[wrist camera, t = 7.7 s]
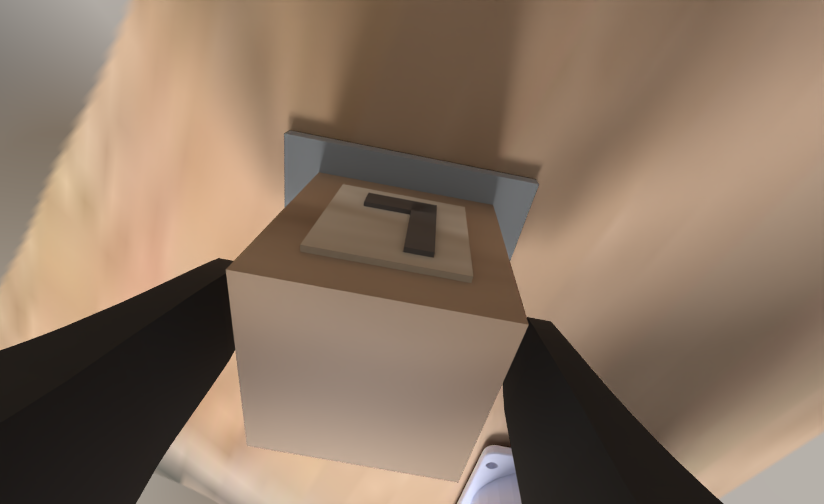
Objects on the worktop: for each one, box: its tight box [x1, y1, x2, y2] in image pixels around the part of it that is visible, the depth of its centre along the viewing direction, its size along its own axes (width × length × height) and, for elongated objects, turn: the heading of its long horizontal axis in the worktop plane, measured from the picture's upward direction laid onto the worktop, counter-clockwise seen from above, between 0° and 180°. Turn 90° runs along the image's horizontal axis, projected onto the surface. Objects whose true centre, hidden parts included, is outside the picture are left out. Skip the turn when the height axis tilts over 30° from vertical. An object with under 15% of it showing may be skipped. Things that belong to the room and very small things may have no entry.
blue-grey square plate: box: [284, 130, 539, 260], centre depth 12 cm, size 7×7×1 cm
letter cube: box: [226, 172, 529, 483], centre depth 9 cm, size 5×5×5 cm
